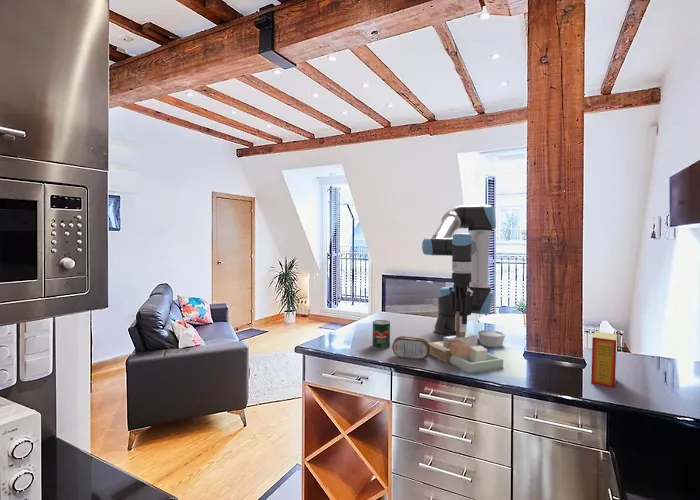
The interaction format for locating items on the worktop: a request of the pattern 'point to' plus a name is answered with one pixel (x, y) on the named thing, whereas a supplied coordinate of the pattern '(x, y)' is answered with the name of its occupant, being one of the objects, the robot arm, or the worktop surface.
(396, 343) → the tin
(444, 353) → the tan flat block
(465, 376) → the worktop surface
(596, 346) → the baking soda box
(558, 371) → the worktop surface
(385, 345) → the canned tomato
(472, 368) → the box
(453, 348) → the terracotta block
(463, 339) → the scraper
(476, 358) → the cream block
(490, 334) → the ramekin
